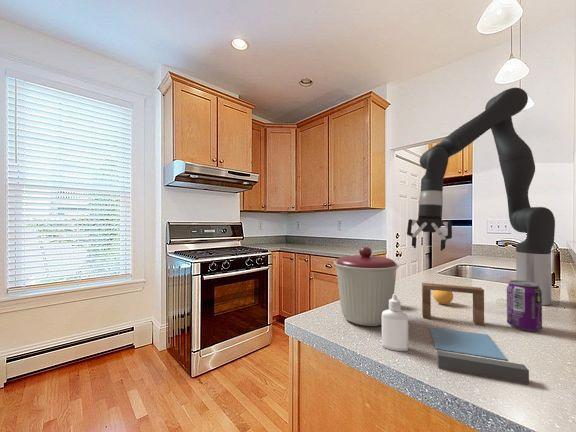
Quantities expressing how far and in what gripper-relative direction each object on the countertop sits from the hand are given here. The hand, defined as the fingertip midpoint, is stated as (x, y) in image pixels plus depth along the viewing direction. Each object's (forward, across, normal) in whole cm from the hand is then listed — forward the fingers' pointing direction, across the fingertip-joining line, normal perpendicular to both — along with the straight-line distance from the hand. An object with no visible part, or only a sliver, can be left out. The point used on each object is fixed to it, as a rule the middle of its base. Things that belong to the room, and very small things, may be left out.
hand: (427, 249), depth 97 cm
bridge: (+18, -8, +18) cm, 27 cm away
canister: (+20, +14, +29) cm, 38 cm away
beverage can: (+18, -24, +15) cm, 33 cm away
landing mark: (+19, -9, +33) cm, 39 cm away
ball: (+15, -6, +2) cm, 16 cm away
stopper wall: (+19, -11, +46) cm, 51 cm away
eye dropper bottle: (+20, +5, +43) cm, 48 cm away
